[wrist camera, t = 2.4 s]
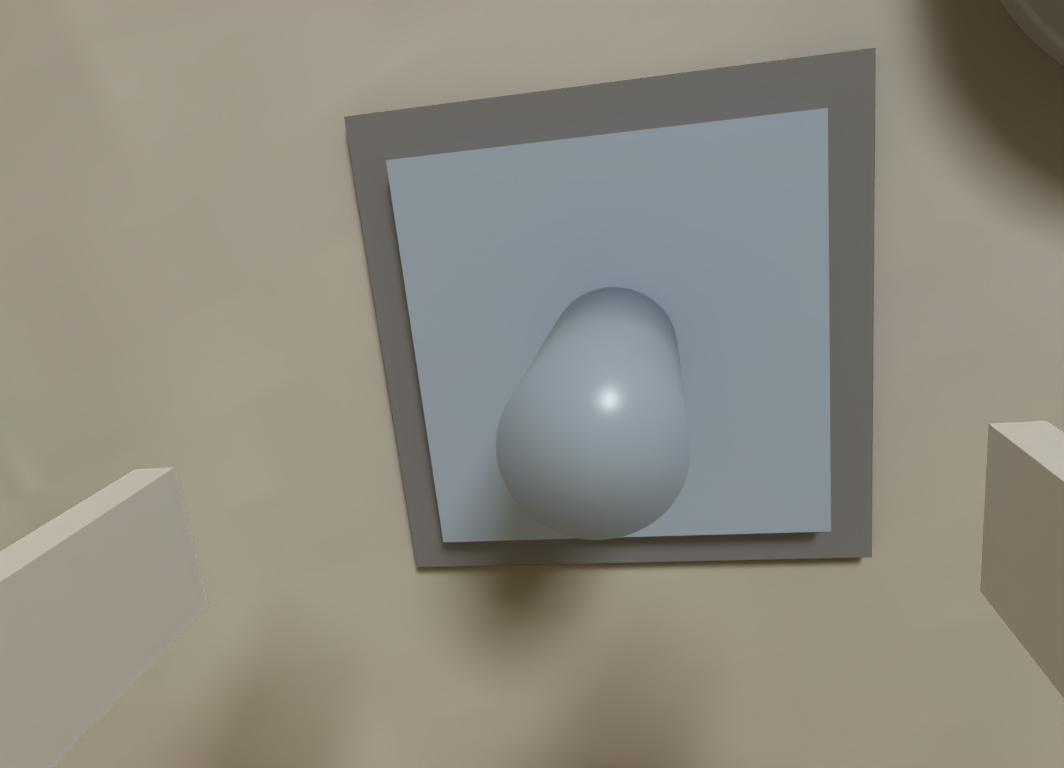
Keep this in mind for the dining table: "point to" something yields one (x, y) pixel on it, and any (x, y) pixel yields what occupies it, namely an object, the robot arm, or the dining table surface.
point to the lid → (624, 330)
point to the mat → (621, 109)
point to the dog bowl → (1040, 23)
